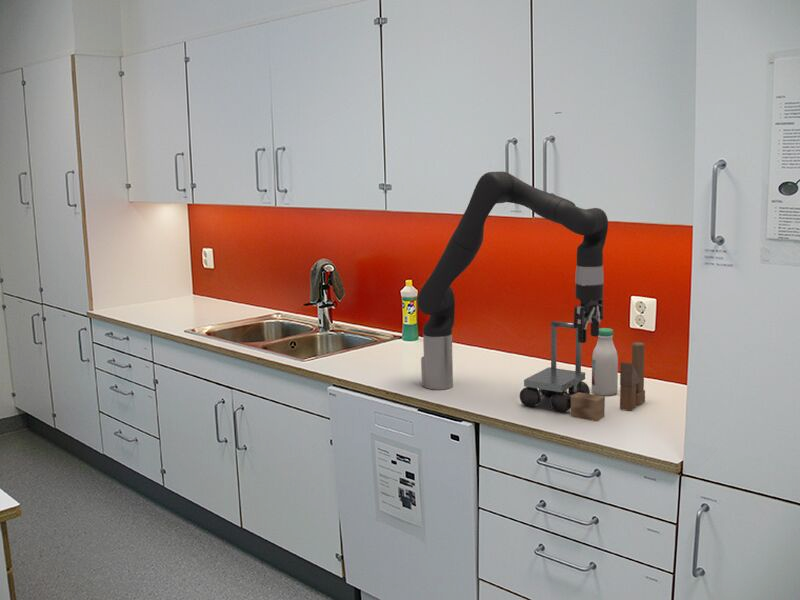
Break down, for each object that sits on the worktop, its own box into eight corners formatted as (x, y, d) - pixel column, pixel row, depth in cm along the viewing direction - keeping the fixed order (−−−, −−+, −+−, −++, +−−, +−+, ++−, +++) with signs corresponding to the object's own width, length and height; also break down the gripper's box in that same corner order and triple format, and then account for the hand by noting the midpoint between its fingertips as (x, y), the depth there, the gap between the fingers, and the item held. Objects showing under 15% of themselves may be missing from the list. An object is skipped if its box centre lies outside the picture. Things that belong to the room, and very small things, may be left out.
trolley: (518, 406, 250) (517, 329, 246) (542, 392, 263) (543, 319, 259) (568, 415, 241) (568, 335, 237) (591, 400, 254) (592, 324, 250)
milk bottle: (622, 392, 261) (623, 328, 258) (608, 397, 256) (609, 333, 253) (600, 387, 267) (601, 325, 263) (586, 393, 262) (587, 329, 258)
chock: (570, 417, 240) (570, 396, 239) (578, 412, 244) (578, 392, 243) (597, 421, 235) (597, 400, 234) (604, 416, 239) (604, 396, 238)
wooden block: (619, 409, 245) (620, 348, 242) (633, 399, 254) (634, 341, 250) (631, 411, 243) (632, 350, 240) (645, 401, 251) (646, 342, 248)
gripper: (587, 277, 240) (586, 332, 243) (565, 284, 229) (564, 343, 232) (612, 278, 236) (611, 335, 239) (591, 286, 225) (590, 346, 228)
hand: (588, 339), depth 236 cm, fingers open, 8 cm apart
